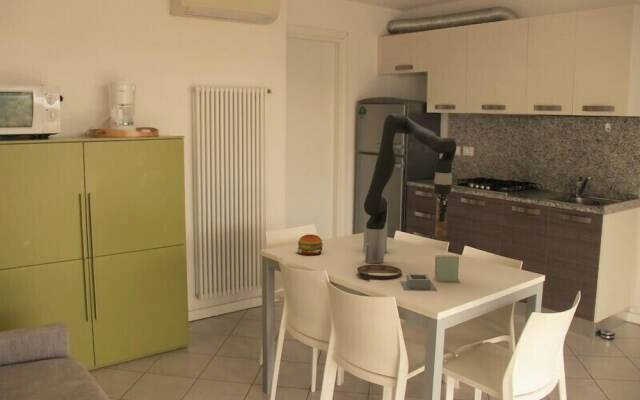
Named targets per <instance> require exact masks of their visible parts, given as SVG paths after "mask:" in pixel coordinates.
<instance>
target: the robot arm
mask: <svg viewBox="0 0 640 400" xmlns="http://www.w3.org/2000/svg"><path fill="white" fill-rule="evenodd" d="M396 134H404V135H409V136H412V137H413V139H415V140H416V141H417V142H418V143H420V144H422V145H423V146H426V147H428V148H429V149H430V150H431V151H433V152H434V153H436V154H439V155H441V154H442V155H441V158H439V159H436V162H435V173H434V181H433V182H434V183H433V184H434V185H433V193H435V194H437V195H438V196H436V202H437V201H438V202H439V208H440V211H439V213H440V217H439V221H440V222H444V221H445V213H446V210H447V211H448V202H449V201H448V198H447V195H451V194H452V181H453V177H452V176H453V174H452V171H453V170H452V169H453V162H454V160H455V159H454V158H455V155H456V152H457V142H456V140H455V139H454V138H453V137H440V136H439V134H438V133H437V132H435V131H432V130H430V129H429V128H426V127H424V126H422V125H420V124H418V123H416V122H415V121H413V120H412V119H411V118H410V117H408V116H407V115H404V114H401V113H394V112H393V113H389V114H387V115H386V117H385V118H384V122H383V129H382V135H381V141H380V146H379V149H378V150H379V151H378V153H377V158H376V161H375V165H374V170H373V174H372V176H371V177H372V178H371V182H370V186H369V188H368V192H367V194H366V197H365V200H364V202H363V203H364V204H363V211H364V210H365V212H366V213H367V214H368V215H371V216H370V219H369V220H368V221H367V223H366V242H365V252H364V261H365V263H369V264H383V263H384V260H385V253H384V234H385V224H386V220H387V206H388V202H387V200H386V198H385V197H384V196H382V195H383V192H384V189H385V188H386V187H387V185H388V183H389V182H390V179H391V178H392V177H393V174H394V171H395V167H396V162H397V157H396V154H395V149H394V140H395V137H396ZM440 205H441V206H440ZM442 208H444V210H442Z"/></svg>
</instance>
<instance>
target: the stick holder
mask: <svg viewBox="0 0 640 400" xmlns="http://www.w3.org/2000/svg"><path fill="white" fill-rule="evenodd" d="M399 283H400V285H401V287H402V290H403V291H404V292H411V291H412V292H438V290H437V288H436V286H435V285H434V283H433V282H432V281H431V279H430V276H429V275H428V274H426V273H425V274H424V273H423V274H422V273H420V274H419V273H415V274H414V273H407V274H406V280H404V281H403V280H400V281H399Z"/></svg>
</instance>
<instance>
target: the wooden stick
mask: <svg viewBox="0 0 640 400" xmlns="http://www.w3.org/2000/svg"><path fill="white" fill-rule="evenodd" d="M440 206H441V205H440ZM435 209H436V213H435V227H434V228H435V229H434V230H435V232H434V233H435V234H434V235H435V237H436V238H446V235H447V234H446V233H447V219H448V218H447V216H448V215H447V213H448V209H447V210H446V213H445V221H444V222H440V221H439V217H440V213H439V211H440V208H439V202H438V201H437V200H436V207H435ZM442 210H444V208H442Z"/></svg>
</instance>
